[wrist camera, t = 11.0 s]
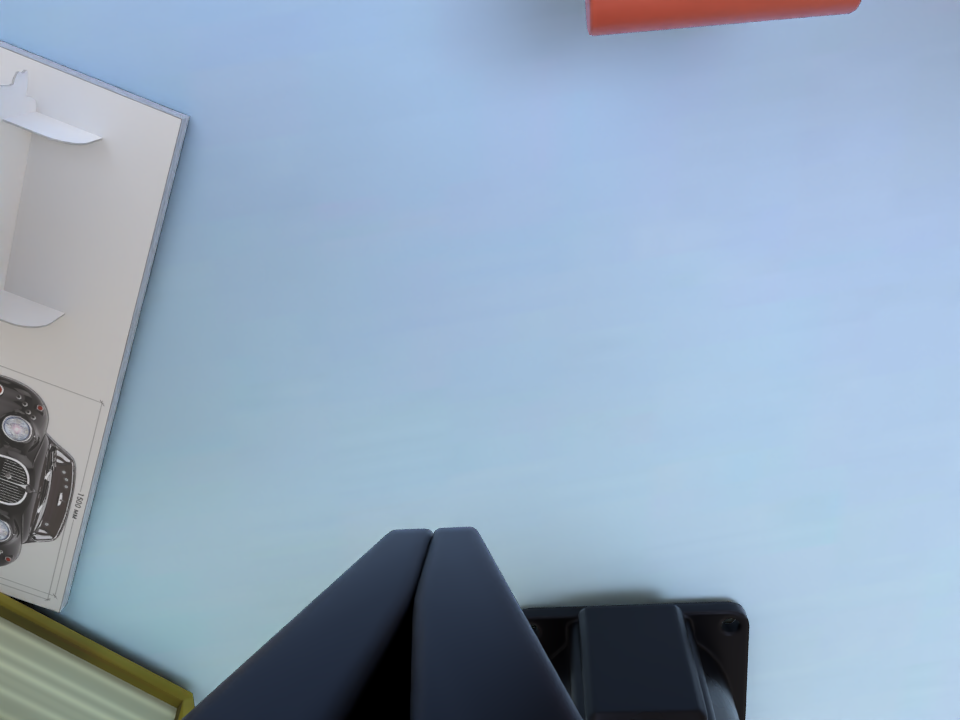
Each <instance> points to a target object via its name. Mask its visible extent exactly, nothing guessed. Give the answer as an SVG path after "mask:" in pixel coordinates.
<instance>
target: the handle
mask: <svg viewBox="0 0 960 720" xmlns="http://www.w3.org/2000/svg"><path fill="white" fill-rule="evenodd" d="M860 2H861V0H585V5H586V20H587V29H588V32H589V35H592V36H598V35H609V34H621V33H632V32H644V31H655V30H667V29H678V28H689V27H701V26H712V25H724V24H735V23H746V22H758V21H769V20H781V19H792V18H804V17H815V16H826V15H838V14H849V13H851V12H853V11H855V10H856V9H857V8H858V6H859V4H860Z"/></svg>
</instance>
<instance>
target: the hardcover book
mask: <svg viewBox="0 0 960 720" xmlns="http://www.w3.org/2000/svg"><path fill="white" fill-rule="evenodd" d="M194 707H195V706H194V700H193V693H191V692H189V691H187V690H185V689H183V688H182V687H180V686H178V685H176V684H174V683H172V682H170V681H168V680H166V679H164V678H163V677H161V676H159V675H157V674H155V673H153V672H151V671H149V670H147V669H145V668H144V667H142V666H140V665H138V664H136V663H134V662H132V661H130V660H128V659H126V658H125V657H123V656H121V655H119V654H117V653H115V652H113V651H111V650H109V649H107V648H106V647H104V646H102V645H100V644H98V643H96V642H94V641H92V640H90V639H88V638H87V637H85V636H83V635H81V634H79V633H77V632H75V631H73V630H71V629H69V628H67V627H66V626H64V625H62V624H60V623H58V622H56V621H54V620H52V619H50V618H48V617H47V616H45V615H43V614H41V613H39V612H37V611H35V610H33V609H31V608H29V607H28V606H26V605H24V604H22V603H20V602H18V601H16V600H14V599H12V598H10V597H9V596H7V595H5V594H3V593H1V592H0V720H181V719H182V718H184V717H185V716H186V715H187V714H188V713H189V712H190V711H191V710H192V709H194Z"/></svg>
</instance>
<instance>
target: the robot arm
mask: <svg viewBox="0 0 960 720" xmlns="http://www.w3.org/2000/svg"><path fill="white" fill-rule="evenodd" d="M730 618H732V619H736V620H735V621H734V622H732V623H729V624H725V623H722V622H723V621H725V620H726V619H730ZM530 625H535V626H536V627H537V628H536V629H532V627H531V626H530ZM748 641H749V622H748V618H747V615H746V613H745V610H744V609H743V608H742V606H741V605H739V604H737V603H734V602H704V603H673V604H643V605H612V606H581V607H551V608H528V609H523V610H521V608H520V606H519V604H518V602H517V601H516V599H515V597H514V595H513V593H512V592H511V590H510V588H509V586H508V584H507V583H506V581H505V579H504V577H503V575H502V574H501V572H500V570H499V568H498V566H497V565H496V563H495V561H494V559H493V557H492V556H491V554H490V552H489V550H488V548H487V547H486V545H485V543H484V541H483V539H482V538H481V536H480V534H479V532H478V531H477V530H476V529H475V528H473V527H454V528H439V529H437V530H436V531H435V532H434V534H433V533H432V531H431V530H429V529H402V530H393V531H391V532H389V533H388V534H387V535H385V536H384V537H383V538H382V539H381V540H380V541H379V542H378V543H377V544H375V545H374V546H373V547H372V548H371V549H370V550H369V551H368V552H367V553H365V554H364V555H363V556H362V557H361V558H360V559H359V560H358V561H357V562H355V563H354V564H353V565H352V566H351V567H350V568H349V569H348V570H347V571H345V572H344V573H343V574H342V575H341V576H340V577H339V578H338V579H337V580H336V581H334V582H333V583H332V584H331V585H330V586H329V587H328V588H327V589H326V590H324V591H323V592H322V593H321V594H320V595H319V596H318V597H317V598H316V599H314V600H313V601H312V602H311V603H310V604H309V605H308V606H307V607H306V608H304V609H303V610H302V611H301V612H300V613H299V614H298V615H297V616H296V617H294V618H293V619H292V620H291V621H290V622H289V623H288V624H287V625H286V626H284V627H283V628H282V629H281V630H280V631H279V632H278V633H277V634H276V635H275V636H273V637H272V638H271V639H270V640H269V641H268V642H267V643H266V644H265V645H263V646H262V647H261V648H260V649H259V650H258V651H257V652H256V653H255V654H253V655H252V656H251V657H250V658H249V659H248V660H247V661H246V662H245V663H243V664H242V665H241V666H240V667H239V668H238V669H237V670H236V671H235V672H233V673H232V674H231V675H230V676H229V677H228V678H227V679H226V680H225V681H223V682H222V683H221V684H220V685H219V686H218V687H217V688H216V689H215V690H214V691H212V692H211V693H210V694H209V695H208V696H207V697H206V698H205V699H204V700H202V701H201V702H200V703H199V704H198V705H197V706H196V707H195V708H194V709H192V710H191V711H190V712H189V713H188V714H187V715H186V716H185V717H184V718H182V719H181V720H745V714H746V690H747V666H748Z"/></svg>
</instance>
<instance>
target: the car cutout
mask: <svg viewBox="0 0 960 720" xmlns="http://www.w3.org/2000/svg"><path fill="white" fill-rule="evenodd" d="M188 121H189V116H187V115H184V114H182V113H179V112H177V111H174V110H172V109H169V108H167V107H164V106H162V105H159V104H157V103H154V102H152V101H149V100H147V99H144V98H142V97H139V96H137V95H134V94H132V93H130V92H127V91H125V90H122V89H120V88H117V87H115V86H112V85H110V84H107V83H105V82H102V81H100V80H97V79H95V78H92V77H90V76H87V75H85V74H82V73H80V72H77V71H75V70H72V69H70V68H67V67H65V66H62V65H60V64H57V63H55V62H52V61H50V60H47V59H45V58H42V57H40V56H37V55H35V54H33V53H30V52H28V51H25V50H23V49H20V48H18V47H15V46H13V45H10V44H8V43H5V42H3V41H0V592H1V593H3V594H5V595H8V596H11V597H14V598H17V599H20V600H23V601H26V602H29V603H31V604H34V605H37V606H40V607H43V608H46V609H49V610H52V611H55V612H58V613H60V612H61V611H62V609H63V608H64V607H65V605H66V604H67V602H68V598H69V594H70V590H71V586H72V582H73V578H74V574H75V570H76V566H77V562H78V558H79V554H80V550H81V546H82V542H83V538H84V534H85V531H86V527H87V523H88V519H89V515H90V511H91V507H92V503H93V499H94V495H95V491H96V487H97V483H98V479H99V475H100V471H101V467H102V463H103V459H104V455H105V451H106V447H107V443H108V439H109V435H110V431H111V427H112V423H113V419H114V415H115V411H116V407H117V403H118V399H119V395H120V391H121V387H122V383H123V380H124V376H125V372H126V368H127V364H128V360H129V356H130V352H131V348H132V344H133V340H134V336H135V332H136V328H137V324H138V320H139V316H140V312H141V308H142V304H143V300H144V296H145V292H146V288H147V284H148V280H149V276H150V272H151V268H152V264H153V260H154V256H155V252H156V248H157V244H158V240H159V236H160V233H161V229H162V225H163V221H164V217H165V213H166V209H167V205H168V201H169V197H170V193H171V189H172V185H173V181H174V177H175V173H176V169H177V165H178V161H179V157H180V153H181V149H182V145H183V141H184V137H185V133H186V129H187V125H188Z"/></svg>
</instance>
